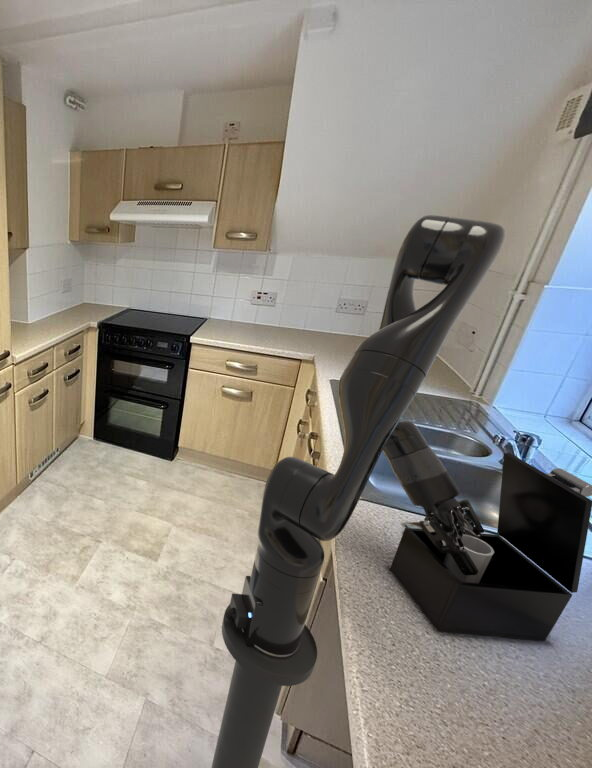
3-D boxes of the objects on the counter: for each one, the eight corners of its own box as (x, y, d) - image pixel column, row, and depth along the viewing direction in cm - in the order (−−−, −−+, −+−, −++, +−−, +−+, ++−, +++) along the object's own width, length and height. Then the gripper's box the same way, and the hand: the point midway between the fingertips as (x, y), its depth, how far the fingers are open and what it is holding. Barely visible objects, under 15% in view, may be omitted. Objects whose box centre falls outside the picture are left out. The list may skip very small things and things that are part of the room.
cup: (452, 591, 73) (470, 554, 70) (431, 568, 78) (446, 532, 75) (484, 594, 73) (502, 556, 70) (460, 571, 78) (477, 534, 74)
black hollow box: (438, 631, 69) (459, 585, 66) (389, 569, 82) (405, 527, 78) (545, 641, 68) (573, 594, 64) (478, 576, 81) (498, 534, 77)
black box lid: (586, 501, 59) (631, 495, 58) (503, 453, 71) (539, 447, 70) (571, 593, 64) (612, 588, 63) (497, 532, 77) (530, 528, 76)
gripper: (424, 480, 71) (487, 583, 66) (461, 460, 78) (521, 552, 72) (382, 490, 77) (436, 584, 72) (420, 471, 84) (472, 556, 78)
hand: (478, 567), depth 72 cm, fingers closed on cup, 5 cm apart
